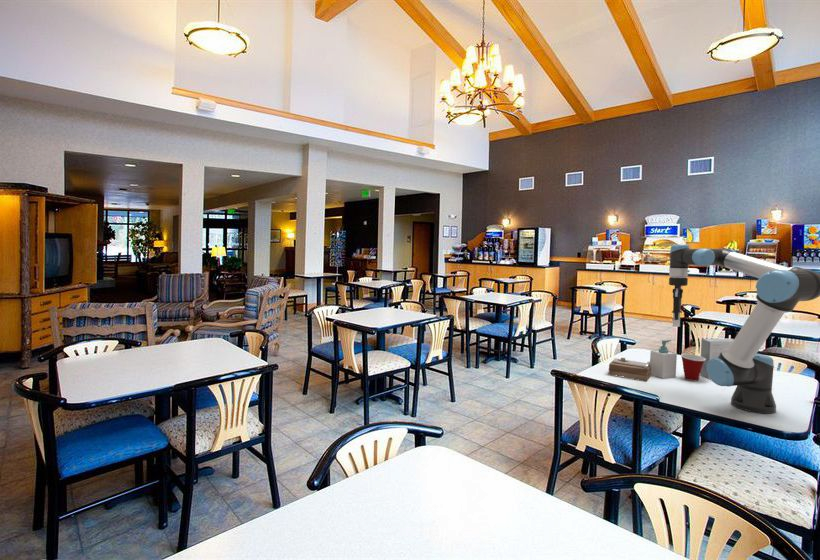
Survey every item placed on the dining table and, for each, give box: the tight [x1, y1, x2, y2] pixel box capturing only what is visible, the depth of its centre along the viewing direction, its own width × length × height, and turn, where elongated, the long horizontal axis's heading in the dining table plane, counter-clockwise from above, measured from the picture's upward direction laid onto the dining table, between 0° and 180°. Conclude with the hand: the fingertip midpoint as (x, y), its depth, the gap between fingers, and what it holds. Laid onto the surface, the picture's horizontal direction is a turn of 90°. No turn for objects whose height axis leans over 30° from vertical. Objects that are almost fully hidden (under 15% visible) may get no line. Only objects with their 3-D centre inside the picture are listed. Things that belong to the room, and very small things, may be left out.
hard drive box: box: [699, 338, 735, 380], centre depth 226 cm, size 16×8×20 cm, turn 84°
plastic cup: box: [680, 353, 706, 381], centre depth 223 cm, size 11×11×12 cm
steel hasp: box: [612, 357, 649, 367], centre depth 230 cm, size 6×17×1 cm, turn 53°
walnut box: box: [608, 357, 652, 382], centre depth 230 cm, size 12×18×9 cm
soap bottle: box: [649, 339, 678, 379], centre depth 229 cm, size 9×9×19 cm
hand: (676, 326), depth 207 cm, fingers closed
